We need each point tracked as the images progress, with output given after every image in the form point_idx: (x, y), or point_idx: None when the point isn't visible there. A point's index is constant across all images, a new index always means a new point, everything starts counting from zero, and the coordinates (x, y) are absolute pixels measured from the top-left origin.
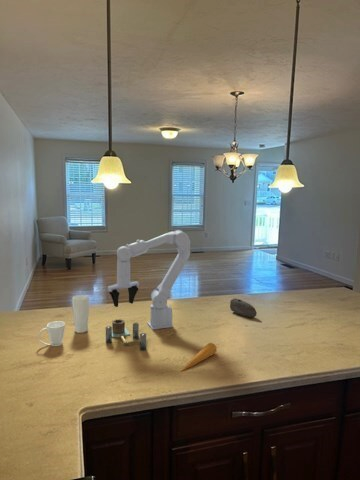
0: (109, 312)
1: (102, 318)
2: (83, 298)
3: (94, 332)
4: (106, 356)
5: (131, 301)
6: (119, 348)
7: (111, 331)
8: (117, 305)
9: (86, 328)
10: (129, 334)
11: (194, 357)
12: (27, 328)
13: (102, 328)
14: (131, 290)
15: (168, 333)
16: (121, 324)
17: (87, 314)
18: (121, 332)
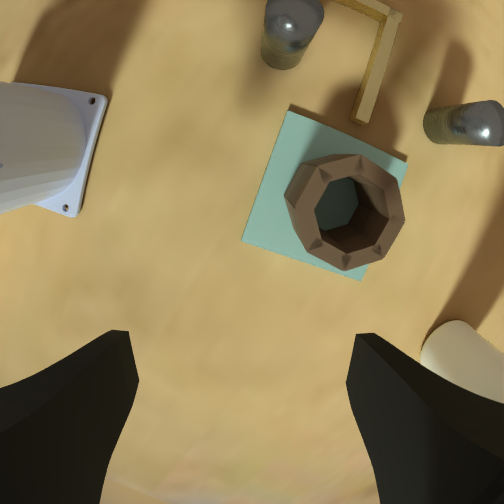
0: (198, 458)
1: (270, 428)
2: None
3: (421, 295)
4: (491, 22)
5: (119, 353)
6: (427, 22)
7: (469, 104)
8: (374, 339)
9: (449, 331)
10: (291, 112)
11: None
12: None
13: (358, 321)
14: (46, 492)
15: (78, 15)
16: (356, 155)
17: (490, 377)
18: (336, 154)
